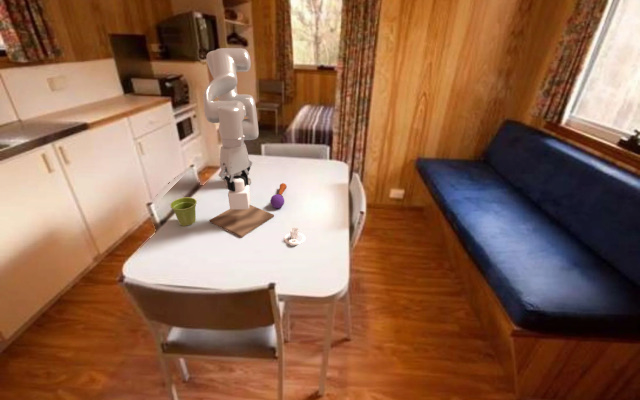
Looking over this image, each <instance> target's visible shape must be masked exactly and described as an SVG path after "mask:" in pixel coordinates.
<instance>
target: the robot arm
mask: <svg viewBox="0 0 640 400" xmlns="http://www.w3.org/2000/svg"><path fill="white" fill-rule="evenodd" d="M206 63H207V67H208V69H209V72H210V74H211V77H212V79H213V80H211V81H210V82H209V83H208V84H207V86H206V87H205V89H204V92H203V98H202V99H203V100H202V101H203V112H204V117H205V119H206V121H208V122H209V123H210V124H211V123H212V124H218V132H219V135H220V138H221V139H220V140H221V145H222V146H220V150H219V151H220V153H219V157H220V158H219V159H220V160H219V162H220V171H219V173H218V177H220V178H222V179H223V180H224V185H225V187H226V188H227V189H228V191H229V190H230V191H233V192H234V191H235V185H234V182H233V176H237V175H240V176H244V177H245V178H246V185H249V186H250V185H251V183H252V179H251V178H250V177H249V175H250V170H251V168H252V166H253V162H252V160H250V158H249V154H248V150H247V149H248V148H247V145H246V143H245V141H251V140H252V141H254V140H256V139H258V138H259V135H260V134H259V123H258V122H259V121H258V115H257V107H256V101H255V98H254V97H253V95H251V94H246V93H243V94H240V93H238V88H237V85H238V75H237V73H243V72H244V73H247V72H249V71H250V70H251V67H252V65H251V56H250V53H249V52H248V50H247V49H245V48H241V47H237V48H235V47H227V48H226V47H222V48H216V49H215V50H211V51H208V53H207V54H206ZM216 98H217V99H218V100H215V99H216Z"/></svg>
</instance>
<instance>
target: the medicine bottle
mask: <svg viewBox="0 0 640 400" xmlns="http://www.w3.org/2000/svg"><path fill="white" fill-rule="evenodd" d="M233 182H234V185H235V191H234V192H233V191H230V190H228V193H227V196H228V203H229V209H231V210H235V209H249V206H250V205H251V201H252V198H251V188H250V185H246V178H245V177H244V176H240V175H237V176H233Z"/></svg>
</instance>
